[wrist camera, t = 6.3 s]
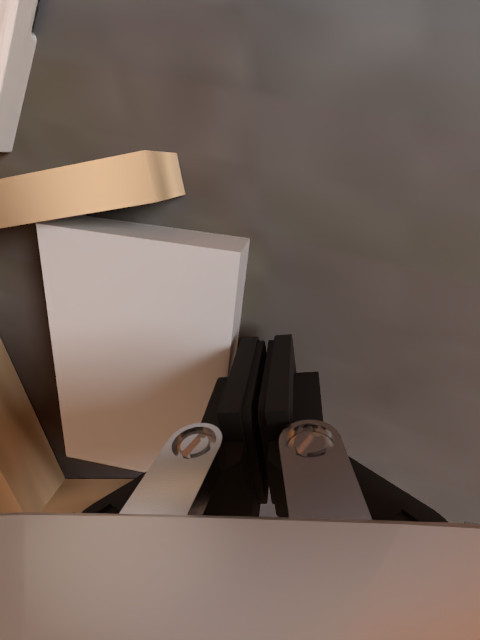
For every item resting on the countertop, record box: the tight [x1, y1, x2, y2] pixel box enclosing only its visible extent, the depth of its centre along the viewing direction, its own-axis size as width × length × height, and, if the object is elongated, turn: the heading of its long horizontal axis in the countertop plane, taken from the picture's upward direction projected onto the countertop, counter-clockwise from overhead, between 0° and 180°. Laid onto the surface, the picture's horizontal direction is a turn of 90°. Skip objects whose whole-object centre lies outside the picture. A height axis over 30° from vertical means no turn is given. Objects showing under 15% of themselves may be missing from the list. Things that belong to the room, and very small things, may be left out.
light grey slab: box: [36, 215, 250, 472], centre depth 13 cm, size 6×9×2 cm, turn 174°
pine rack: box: [0, 150, 185, 513], centre depth 13 cm, size 10×14×2 cm
